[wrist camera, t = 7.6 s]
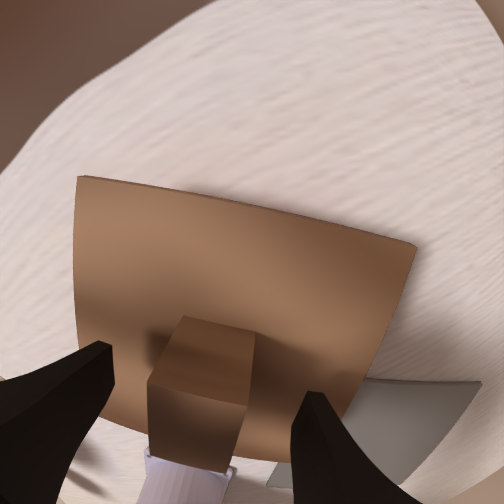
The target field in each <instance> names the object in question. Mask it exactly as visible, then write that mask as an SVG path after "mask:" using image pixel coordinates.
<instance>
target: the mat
mask: <svg viewBox="0 0 504 504" xmlns="http://www.w3.org/2000/svg"><path fill="white" fill-rule="evenodd" d="M481 386H482V383H481V382H412V381H392V380H378V379H365V378H364V379H363V381H362V383H361V385H360V387H359V389H358V391H357V393H356V394H355V396H354V398H353V400H352V402H351V404H350V405H349V407H348V409H347V411H346V412H345V414H344V416H343V418H342V419H341V421H342V423H343V424H344V426H345V427H346V429H347V430H348V432H349V433H350V435H351V436H352V438H353V439H354V440H355V442H356V443H357V444H358V446H359V447H360V448H361V449H362V451H363V452H364V453H365V454H366V456H367V457H368V458H369V459H370V460H371V461H372V462H373V463H374V464H375V465H376V466H377V467H378V469H379V470H380V471H381V472H382V473H383V474H384V475H386V476H387V477H388V478H389V479H390V480H391V481H392V482H393V483H395V484H396V485H400V484H402V483H403V482H404V481H405V480H406V479H407V478H408V477H409V476H410V475H411V474H412V473H413V472H414V471H415V470H416V469H417V468H418V467H419V466H420V465H421V464H422V462H423V461H424V460H425V459H426V458H427V457H428V456H429V455H430V454H431V453H432V451H433V450H434V449H435V448H436V447H437V446H438V444H439V443H440V442H441V441H442V440H443V438H444V437H445V436H446V435H447V433H448V432H449V431H450V430H451V428H452V427H453V426H454V425H455V423H456V422H457V421H458V419H459V418H460V417H461V415H462V414H463V412H464V411H465V410H466V408H467V407H468V405H469V404H470V402H471V401H472V400H473V398H474V397H475V395H476V394H477V392H478V390H479V389H480V387H481ZM266 487H277V488H290V489H293V482H292V469H291V463H282V462H278V464H277V466H276V467H275V469H274V471H273V473H272V474H271V476H270V478H269V480H268V481H267V483H266Z"/></svg>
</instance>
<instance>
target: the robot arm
mask: <svg viewBox="0 0 504 504" xmlns="http://www.w3.org/2000/svg"><path fill="white" fill-rule="evenodd" d="M114 386H115V376H114V364H113V348H112V345H111V344H108V343H105V342H102V341H100V340H98V341H96V342H93V343H91V344H89V345H87V346H86V347H84V348H82V349H80V350H78V351H76V352H74V353H72V354H70V355H68V356H66V357H64V358H62V359H60V360H58V361H56V362H54V363H51V364H49V365H47V366H45V367H42V368H40V369H38V370H35V371H33V372H30V373H27V374H25V375H22V376H18V377H15V378H12V379H8V380H4V381H0V504H56V502H57V499H58V495H59V492H60V489H61V486H62V484H63V481H64V479H65V476H66V473H67V471H68V469H69V466H70V464H71V462H72V460H73V457H74V455H75V453H76V451H77V449H78V447H79V446H80V444H81V442H82V441H83V439H84V438H85V436H86V434H87V433H88V431H89V430H90V428H91V427H92V425H93V424H94V422H95V421H96V419H97V418H98V416H99V414H100V413H101V411H102V410H103V408H104V407H105V405H106V403H107V401H108V399H109V397H110V395H111V393H112V390H113V388H114ZM290 456H291V469H292V482H293V494H294V504H422V503H421V502H419V501H418V500H416V499H414V498H413V497H411V496H410V495H409V494H407V493H406V492H405V491H403V490H402V489H401V488H399V487H398V486H397V485H396V484H395V483H393V482H392V481H391V480H390V479H389V478H388V477H387V476H386V475H384V474H383V473H382V472H381V471H380V470H379V469H378V467H377V466H376V465H375V464H374V463H373V462H372V461H371V460H370V459H369V458H368V457H367V456H366V454H365V453H364V452H363V451H362V449H361V448H360V447H359V446H358V444H357V443H356V442H355V440H354V439H353V438H352V436H351V435H350V433H349V432H348V430H347V429H346V427H345V426H344V424H343V423H342V421H341V420H340V418H339V417H338V415H337V414H336V412H335V410H334V409H333V407H332V406H331V404H330V402H329V401H328V399H327V397H326V396H325V394H324V393H323V392H314V391H307V392H306V395H305V397H304V399H303V402H302V404H301V406H300V408H299V410H298V413H297V415H296V417H295V419H294V421H293V423H292V425H291V438H290ZM144 458H145V467H146V475H147V476H146V479H145V482H144V485H143V487H142V490H141V493H140V495H139V498H138V501H137V504H221V502H222V500H223V497H224V495H225V492H226V489H227V487H228V484H229V481H230V479H231V476H232V473H233V470H232V469H231V468H228V470H227V473H226V474H222V473H217V472H212V471H207V470H203V469H198V468H194V467H190V466H186V465H182V464H178V463H174V462H171V461H167V460H164V459H160V458H157V457H154V456H150V453H149V448H145V450H144Z"/></svg>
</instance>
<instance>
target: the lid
mask: <svg viewBox="0 0 504 504" xmlns="http://www.w3.org/2000/svg"><path fill="white" fill-rule="evenodd" d="M416 250H417V247H416V246H414V245H413V244H411V243H408V242H404V241H400V240H397V239H393V238H389V237H386V236H382V235H378V234H374V233H371V232H367V231H363V230H359V229H355V228H351V227H347V226H343V225H339V224H335V223H331V222H327V221H323V220H318V219H314V218H310V217H306V216H301V215H297V214H293V213H288V212H284V211H279V210H275V209H270V208H266V207H261V206H256V205H252V204H247V203H242V202H237V201H232V200H227V199H222V198H217V197H212V196H207V195H202V194H196V193H191V192H186V191H180V190H175V189H169V188H163V187H157V186H152V185H146V184H140V183H133V182H127V181H121V180H114V179H108V178H101V177H94V176H87V175H84V176H77V185H76V196H75V210H74V230H73V281H74V301H75V315H76V326H77V336H78V344H79V350H80V349H82V348H84V347H86V346H87V345H89V344H91V343H93V342H96V341H98V340H100V341H102V342H105V343H108V344H111V345H112V348H113V364H114V376H115V386H114V388H113V390H112V393H111V395H110V397H109V399H108V401H107V403H106V405H105V407H104V408H103V410H102V411H101V413H100V414H99V417H101V418H104V419H106V420H108V421H111V422H114V423H116V424H119V425H121V426H124V427H127V428H130V429H133V430H135V431H138V432H141V433H144V434H147V435H148V438H149V453H150V456H154V457H157V458H160V459H164V460H167V461H171V462H174V463H178V464H182V465H186V466H190V467H194V468H198V469H203V470H207V471H212V472H217V473H222V474H226V473H227V470H228V467H229V464H230V461H231V458H232V456H237V457H243V458H250V459H257V460H264V461H273V462H282V463H291V456H290V438H291V425H292V423H293V421H294V419H295V417H296V415H297V413H298V410H299V408H300V406H301V404H302V402H303V399H304V397H305V395H306V392H307V391H314V392H323V393H324V394H325V396H326V397H327V399H328V401H329V402H330V404H331V406H332V407H333V409H334V410H335V412H336V414H337V415H338V417H339V418H340V420H341V419H342V418H343V416H344V414H345V412H346V411H347V409H348V407H349V405H350V404H351V402H352V400H353V398H354V396H355V394H356V393H357V391H358V389H359V387H360V385H361V383H362V381H363V379H364V377H365V375H366V373H367V371H368V369H369V367H370V365H371V363H372V361H373V359H374V357H375V355H376V353H377V351H378V348H379V346H380V344H381V342H382V340H383V337H384V335H385V333H386V330H387V328H388V326H389V323H390V321H391V319H392V316H393V314H394V311H395V309H396V306H397V304H398V301H399V299H400V296H401V293H402V291H403V288H404V285H405V282H406V280H407V277H408V274H409V271H410V268H411V265H412V262H413V259H414V256H415V253H416Z"/></svg>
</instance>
